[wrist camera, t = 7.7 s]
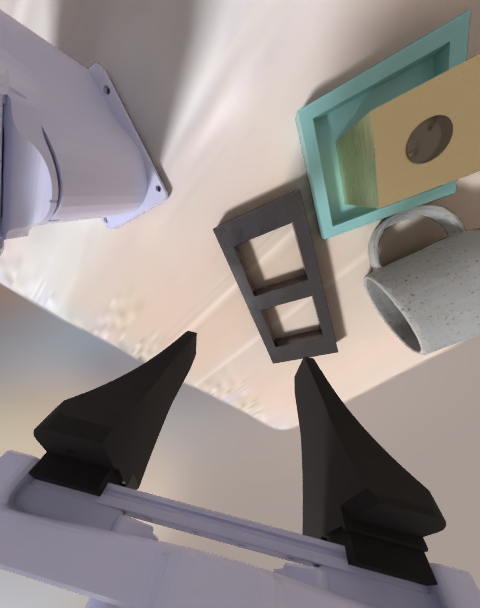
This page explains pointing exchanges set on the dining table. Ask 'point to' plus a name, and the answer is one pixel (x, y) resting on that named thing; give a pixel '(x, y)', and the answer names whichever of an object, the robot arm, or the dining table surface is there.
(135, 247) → the dining table surface
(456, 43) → the tray
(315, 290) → the grey flat frame
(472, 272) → the ceramic mug
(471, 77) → the block
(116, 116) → the robot arm
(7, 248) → the dining table surface
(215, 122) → the dining table surface
